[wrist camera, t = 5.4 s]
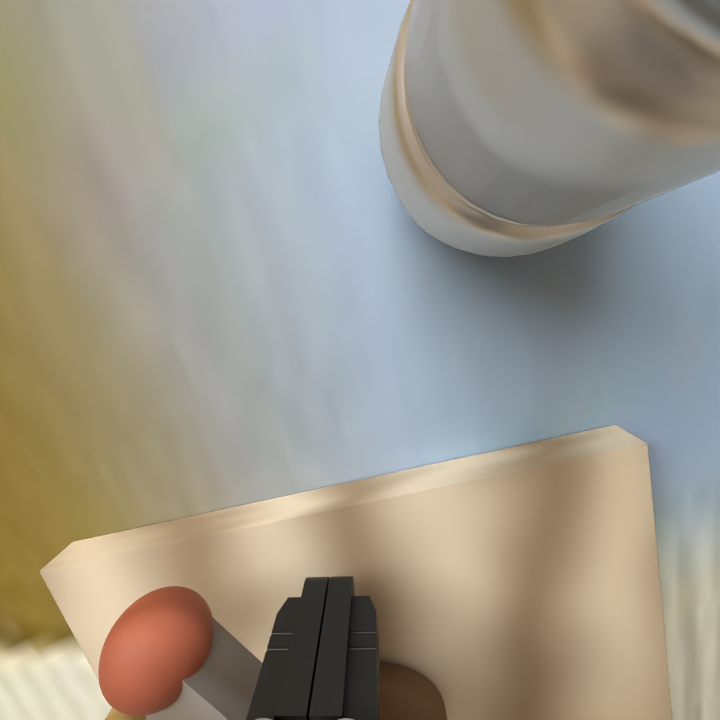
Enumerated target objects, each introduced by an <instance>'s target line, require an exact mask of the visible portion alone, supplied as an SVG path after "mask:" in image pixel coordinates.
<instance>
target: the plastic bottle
mask: <svg viewBox="0 0 720 720" xmlns="http://www.w3.org/2000/svg"><path fill="white" fill-rule="evenodd" d="M379 133H380V145H381V153H382V156H383V160H384V164H385V167H386V171H387V175H388V178H389V180H390V182H391V184H392V186H393V188H394V190H395V192H396V194H397V196H398V198H399V200H400V202H401V204H402V206H403V207H404V208H405V210H406V211H407V212H408V214H409V215H410V216H411V217H412V219H413V220H414V221H415V222H416V224H418V225H419V226H420V227H421V228H422V229H424V230H425V231H426V232H427V233H428V234H430V235H431V236H432V237H434V238H436V239H438V240H440V241H442V242H444V243H446V244H448V245H449V246H452V247H454V248H456V249H460V250H463V251H467V252H470V253H474V254H477V255H481V256H496V257H512V256H520V255H527V254H533V253H537V252H540V251H543V250H546V249H549V248H552V247H555V246H558V245H560V244H563V243H565V242H567V241H569V240H572V239H574V238H576V237H578V236H581V235H583V234H585V233H587V232H589V231H591V230H593V229H595V228H597V227H599V226H600V225H602V224H604V223H606V222H608V221H610V220H612V219H614V218H615V217H617V216H619V215H620V214H622V213H624V212H625V211H627V210H629V209H630V208H632V207H634V206H635V205H637V204H639V203H642V202H644V201H646V200H649V199H651V198H654V197H656V196H659V195H661V194H664V193H666V192H669V191H671V190H674V189H676V188H679V187H681V186H684V185H686V184H689V183H691V182H694V181H696V180H698V179H701V178H703V177H706V176H708V175H711V174H713V173H716V172H718V171H720V0H411V1H410V3H409V5H408V8H407V10H406V13H405V15H404V17H403V20H402V22H401V25H400V28H399V32H398V35H397V39H396V42H395V46H394V50H393V53H392V57H391V60H390V64H389V67H388V71H387V74H386V78H385V81H384V85H383V89H382V94H381V103H380V113H379Z"/></svg>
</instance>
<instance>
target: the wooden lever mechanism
mask: <svg viewBox="0 0 720 720" xmlns="http://www.w3.org/2000/svg"><path fill="white" fill-rule="evenodd" d="M40 573H41V575H42V577H43V579H44V581H45V582H46V584H47V586H48V588H49V590H50V592H51V594H52V595H53V597H54V599H55V601H56V603H57V605H58V606H59V608H60V610H61V612H62V614H63V616H64V618H65V619H66V621H67V623H68V625H69V627H70V629H71V630H72V632H73V634H74V636H75V638H76V640H77V642H78V643H79V645H80V647H81V649H82V651H83V653H84V655H85V656H86V658H87V660H88V662H89V664H90V666H91V667H92V669H93V671H94V673H95V675H96V677H97V679H98V680H99V676H98V668H99V659H100V655H101V651H102V648H103V645H104V642H105V640H106V638H107V636H108V634H109V632H110V630H111V628H112V627H113V625H114V624H115V622H116V621H117V619H118V618H119V617H120V616H121V615H122V613H123V612H124V611H125V610H126V609H127V608H128V607H129V606H130V605H131V604H133V603H134V602H135V601H136V600H138V599H139V598H141V597H142V596H144V595H145V594H147V593H149V592H151V591H154V590H156V589H159V588H163V587H169V586H181V587H186V588H189V589H192V590H194V591H195V592H197V593H198V594H199V595H201V596H202V598H203V599H204V600H205V601H206V602H207V604H208V606H209V608H210V610H211V613H212V617H213V618H214V619H215V620H216V621H217V622H218V623H220V624H221V625H222V626H223V627H224V628H225V629H226V630H227V631H228V632H229V633H230V634H232V635H233V636H234V637H235V638H236V639H237V640H238V641H239V642H240V643H241V644H242V645H243V646H245V647H246V648H247V649H248V650H249V651H250V652H251V653H252V654H253V655H254V656H255V657H257V658H258V659H259V660H260V661H261V662H262V663H263V660H264V656H265V653H266V652H267V646H268V643H269V639H270V636H271V634H272V629H273V625H274V622H275V619H276V615H277V613H278V611H279V610H280V608H281V607H282V606H283V604H284V603H285V601H286V600H287V598H288V597H301V595H302V590H303V586H304V582H305V579H306V577H334V576H353V578H354V588H355V596H370V598H371V600H372V603H373V605H374V607H375V610H376V613H377V628H378V643H379V663H388V664H395V665H399V666H403V667H406V668H409V669H412V670H414V671H416V672H418V673H420V674H421V675H423V676H424V677H426V678H427V679H428V680H429V681H431V682H432V683H433V684H434V686H435V687H436V688H437V689H438V691H439V692H440V694H441V696H442V698H443V700H444V704H445V709H446V715H447V720H672V710H671V699H670V688H669V677H668V666H667V655H666V644H665V633H664V622H663V611H662V600H661V589H660V577H659V566H658V555H657V544H656V533H655V522H654V511H653V500H652V489H651V478H650V467H649V456H648V445H647V443H646V442H644V441H642V440H641V439H639V438H637V437H636V436H634V435H632V434H630V433H629V432H627V431H625V430H624V429H622V428H620V427H619V426H617V425H611V426H607V427H602V428H597V429H593V430H588V431H583V432H579V433H574V434H570V435H565V436H560V437H556V438H551V439H546V440H542V441H537V442H533V443H528V444H523V445H519V446H514V447H509V448H505V449H500V450H496V451H491V452H486V453H482V454H477V455H473V456H468V457H463V458H459V459H454V460H449V461H445V462H440V463H436V464H431V465H426V466H422V467H417V468H412V469H408V470H403V471H399V472H394V473H389V474H385V475H380V476H375V477H371V478H366V479H362V480H357V481H352V482H348V483H343V484H338V485H334V486H329V487H325V488H320V489H315V490H311V491H306V492H302V493H297V494H292V495H288V496H283V497H278V498H274V499H269V500H265V501H260V502H255V503H251V504H246V505H241V506H237V507H232V508H228V509H223V510H218V511H214V512H209V513H204V514H200V515H195V516H191V517H186V518H181V519H177V520H172V521H168V522H163V523H158V524H154V525H149V526H144V527H140V528H135V529H131V530H126V531H121V532H117V533H112V534H107V535H103V536H98V537H94V538H89V539H84V540H80V541H75V542H72V543H71V544H70V545H69V546H68V547H67V548H66V549H64V550H63V551H62V552H61V553H60V554H59V555H57V556H56V557H55V558H54V559H53V560H52V561H51V562H49V563H48V564H47V565H46V566H45V567H44V568H43V569H41V570H40ZM105 720H149V719H148V718H147V717H145V716H130V715H126V714H123V713H121V712H119V711H117V710H115V709H114V708H113V707H112V709H111V711H110V712H109V714H108V716H107V717H106V719H105Z"/></svg>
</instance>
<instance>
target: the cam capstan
mask: <svg viewBox="0 0 720 720" xmlns="http://www.w3.org/2000/svg"><path fill="white" fill-rule="evenodd" d="M261 667H262V662H261V661H260V660H259V659H258V658H257V657H255V656H254V655H253V654H252V653H251V652H250V651H249V650H248V649H247V648H246V647H245V646H243V645H242V644H241V643H240V642H239V641H238V640H237V639H236V638H235V637H234V636H233V635H232V634H230V633H229V632H228V631H227V630H226V629H225V628H224V627H223V626H222V625H221V624H220V623H218V622H217V621H216V620H215V619H214V618H213V617H212V613H211V610H210V608H209V606H208V604H207V602H206V601H205V600H204V599H203V598H202V596H201V595H199V594H198V593H197V592H195V591H194V590H192V589H189V588H186V587H181V586H169V587H163V588H159V589H156V590H154V591H151V592H149V593H147V594H145V595H144V596H142V597H141V598H139V599H138V600H136V601H135V602H134V603H133V604H131V605H130V606H129V607H128V608H127V609H126V610H125V611H124V612H123V613H122V615H121V616H120V617H119V618H118V619H117V621H116V622H115V624H114V625H113V627H112V628H111V630H110V632H109V634H108V636H107V638H106V640H105V642H104V645H103V648H102V651H101V655H100V659H99V668H98V676H99V684H100V688H101V691H102V694H103V696H104V697H105V699H106V700H107V702H108V703H109V704H110V706H112V707H113V708H114V709H115V710H117V711H119V712H121V713H123V714H126V715H130V716H145V717H147V718H148V719H149V720H246V717H247V715H248V711H249V708H250V705H251V701H252V698H253V694H254V691H255V687H256V684H257V680H258V677H259V674H260V670H261ZM379 692H380V720H447V715H446V709H445V704H444V700H443V698H442V696H441V694H440V692H439V691H438V689H437V688H436V687H435V686H434V684H433V683H432V682H431V681H429V680H428V679H427V678H426V677H424V676H423V675H421V674H420V673H418V672H416V671H414V670H412V669H409V668H406V667H403V666H399V665H395V664H388V663H379Z"/></svg>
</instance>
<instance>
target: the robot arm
mask: <svg viewBox="0 0 720 720" xmlns="http://www.w3.org/2000/svg"><path fill="white" fill-rule="evenodd" d="M246 720H380V692H379V643H378V628H377V613H376V610H375V607H374V605H373V603H372V600H371V598H370V596H355V588H354V578H353V576H334V577H306V579H305V582H304V586H303V590H302V595H301V597H288V598H287V600H286V601H285V603H284V604H283V606H282V607H281V608H280V610H279V611H278V613H277V615H276V619H275V622H274V625H273V629H272V634H271V636H270V639H269V643H268V646H267V652H266V653H265V656H264V660H263V663H262V667H261V670H260V674H259V677H258V680H257V684H256V687H255V691H254V694H253V698H252V701H251V705H250V708H249V711H248V715H247V717H246Z"/></svg>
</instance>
